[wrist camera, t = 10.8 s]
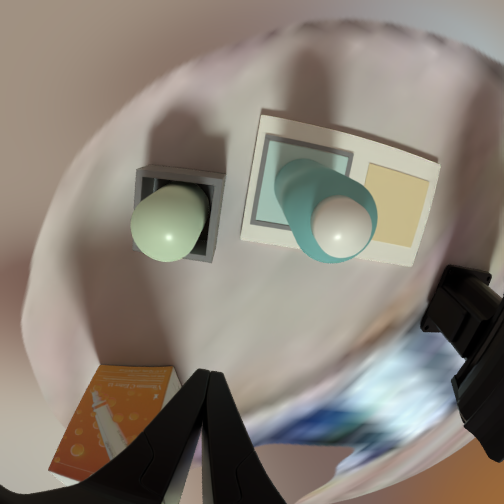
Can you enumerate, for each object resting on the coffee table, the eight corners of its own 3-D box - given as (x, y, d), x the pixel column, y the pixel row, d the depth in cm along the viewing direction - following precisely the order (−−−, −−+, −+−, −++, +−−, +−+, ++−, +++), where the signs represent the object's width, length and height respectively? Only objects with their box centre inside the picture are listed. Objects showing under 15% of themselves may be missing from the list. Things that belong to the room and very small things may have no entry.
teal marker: (335, 163, 17) (397, 191, 10) (325, 218, 19) (374, 277, 11) (278, 154, 17) (306, 174, 10) (270, 211, 18) (288, 270, 11)
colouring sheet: (438, 164, 17) (441, 165, 17) (409, 265, 20) (412, 267, 20) (261, 115, 17) (261, 114, 16) (240, 237, 20) (239, 240, 19)
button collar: (226, 173, 18) (222, 179, 16) (215, 248, 20) (211, 263, 18) (149, 164, 18) (136, 169, 15) (144, 237, 19) (132, 250, 17)
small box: (174, 363, 24) (140, 497, 12) (191, 407, 26) (173, 522, 14) (97, 362, 24) (45, 470, 12) (121, 404, 27) (87, 503, 15)
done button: (213, 183, 18) (202, 198, 14) (206, 238, 19) (194, 266, 15) (157, 176, 18) (132, 189, 14) (153, 230, 19) (130, 256, 15)
